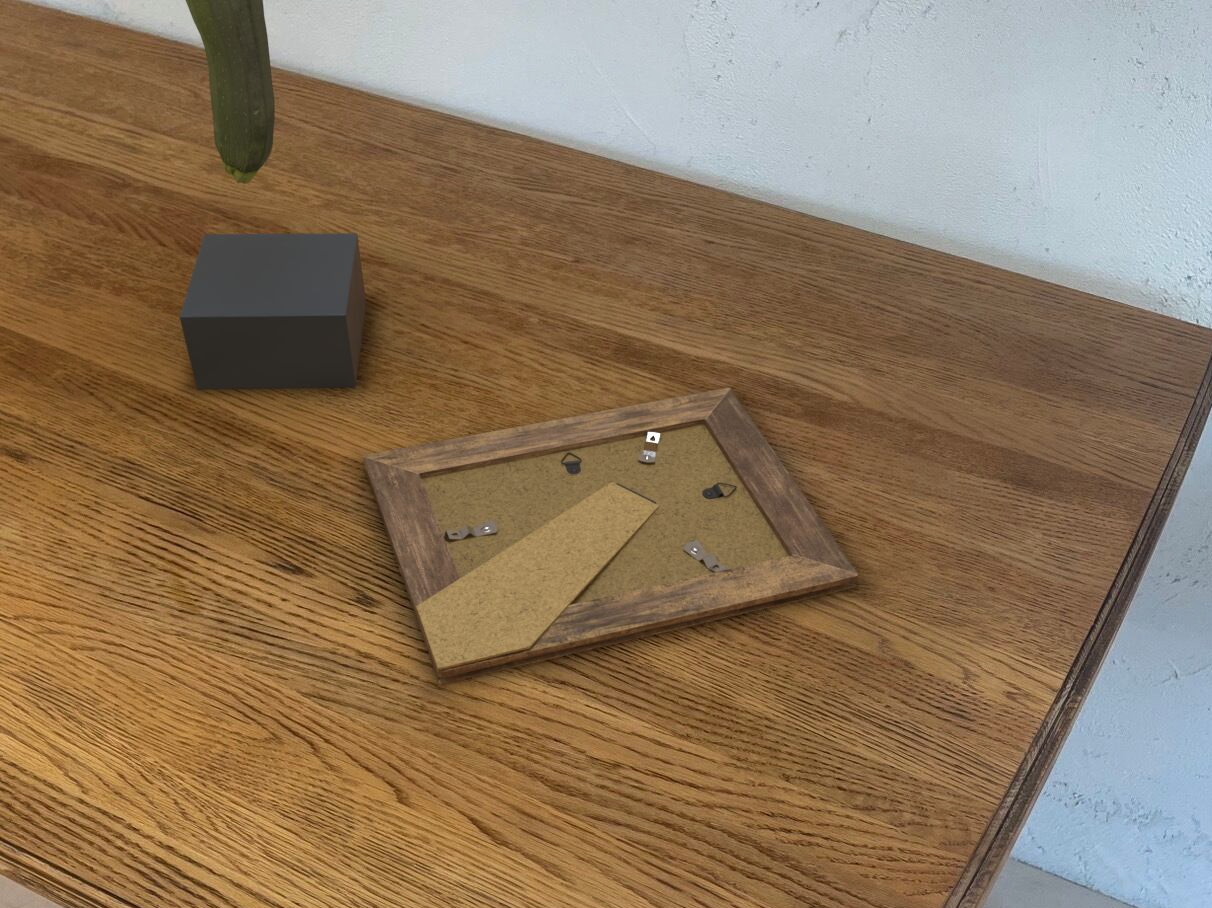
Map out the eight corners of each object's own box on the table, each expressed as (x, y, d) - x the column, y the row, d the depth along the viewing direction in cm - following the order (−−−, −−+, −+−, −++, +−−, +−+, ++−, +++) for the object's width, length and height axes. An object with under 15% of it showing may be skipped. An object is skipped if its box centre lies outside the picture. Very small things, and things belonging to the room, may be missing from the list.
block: (198, 398, 86) (179, 316, 82) (220, 313, 93) (203, 233, 89) (357, 395, 87) (345, 314, 83) (367, 311, 94) (357, 232, 90)
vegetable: (292, 166, 83) (234, -205, 69) (291, 200, 80) (231, -180, 66) (218, 169, 83) (144, -204, 68) (215, 204, 80) (137, -179, 66)
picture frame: (440, 693, 69) (854, 595, 75) (437, 669, 68) (859, 571, 74) (365, 475, 81) (727, 406, 88) (361, 451, 80) (730, 383, 86)
